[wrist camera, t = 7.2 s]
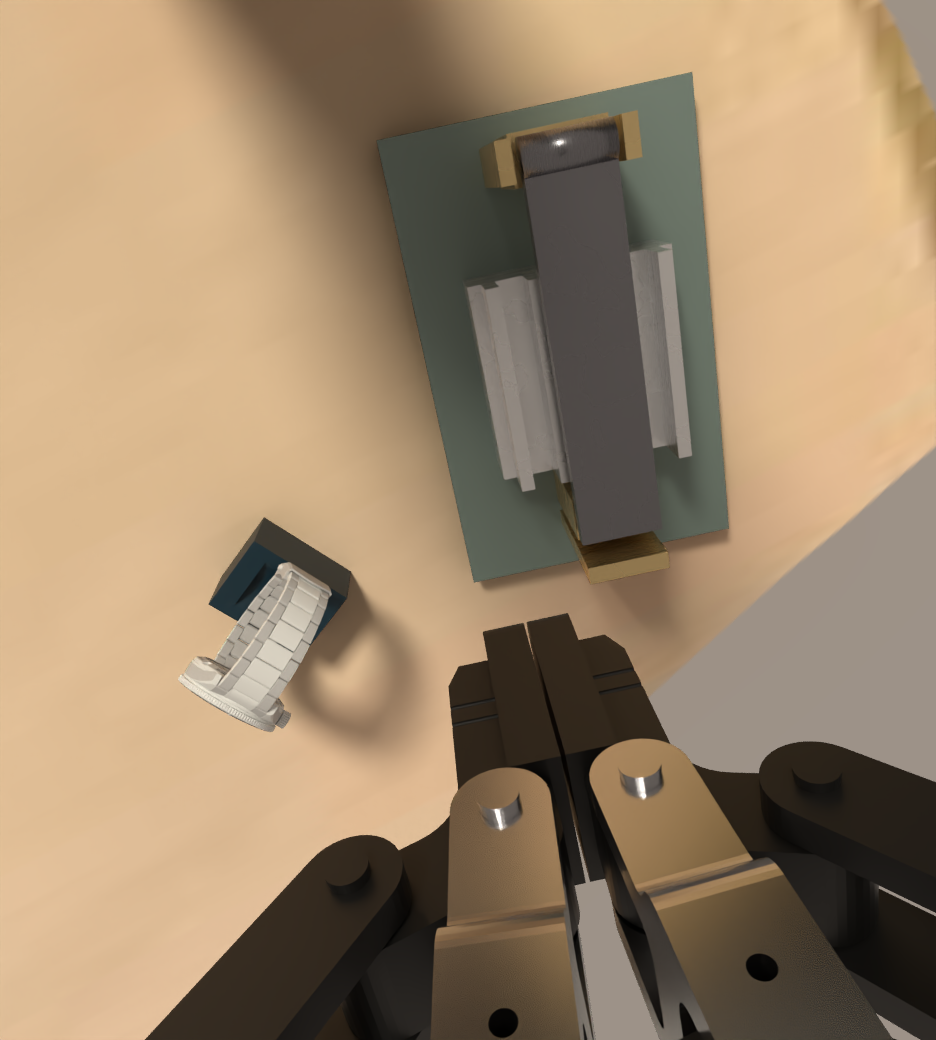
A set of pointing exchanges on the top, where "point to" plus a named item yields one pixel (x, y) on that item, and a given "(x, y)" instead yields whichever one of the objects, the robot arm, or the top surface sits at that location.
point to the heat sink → (528, 371)
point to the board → (507, 245)
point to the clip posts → (595, 558)
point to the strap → (591, 324)
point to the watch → (267, 624)
